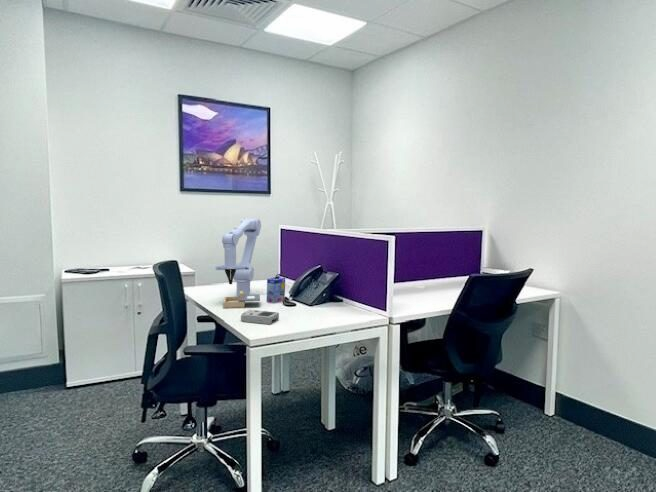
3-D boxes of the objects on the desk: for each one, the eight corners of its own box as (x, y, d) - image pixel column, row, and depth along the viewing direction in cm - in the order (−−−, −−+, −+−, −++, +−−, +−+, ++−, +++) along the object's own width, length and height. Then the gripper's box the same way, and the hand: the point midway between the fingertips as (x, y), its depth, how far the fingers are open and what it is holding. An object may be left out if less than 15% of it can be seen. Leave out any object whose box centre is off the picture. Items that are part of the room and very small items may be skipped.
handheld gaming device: (249, 317, 200) (249, 309, 200) (279, 320, 195) (279, 311, 195) (239, 322, 192) (239, 314, 191) (270, 325, 187) (270, 317, 187)
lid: (239, 296, 228) (239, 289, 228) (259, 295, 230) (259, 289, 229) (238, 301, 216) (238, 294, 215) (260, 300, 217) (260, 294, 217)
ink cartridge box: (275, 303, 226) (275, 275, 225) (266, 302, 229) (266, 274, 228) (285, 300, 235) (285, 272, 234) (277, 298, 238) (277, 272, 236)
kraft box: (225, 302, 227) (224, 297, 226) (244, 302, 228) (244, 296, 228) (223, 308, 215) (223, 302, 215) (244, 307, 217) (244, 301, 216)
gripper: (214, 258, 219) (215, 285, 220) (244, 258, 221) (245, 285, 223) (216, 256, 226) (216, 283, 227) (245, 256, 228) (245, 282, 230)
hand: (230, 284), depth 225 cm, fingers closed
